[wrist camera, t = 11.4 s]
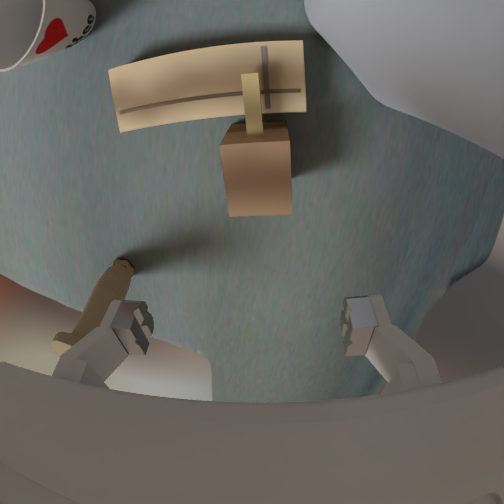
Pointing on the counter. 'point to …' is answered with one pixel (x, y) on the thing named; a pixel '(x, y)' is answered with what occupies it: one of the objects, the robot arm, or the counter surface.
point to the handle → (97, 304)
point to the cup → (41, 28)
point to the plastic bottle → (425, 58)
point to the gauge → (256, 160)
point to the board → (208, 83)
